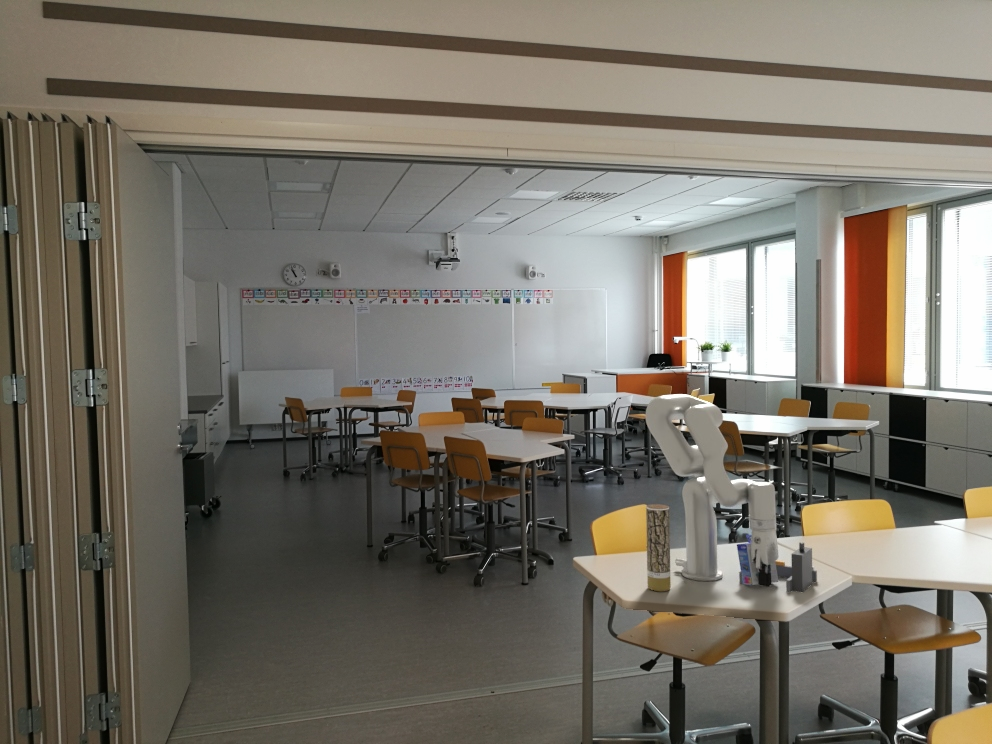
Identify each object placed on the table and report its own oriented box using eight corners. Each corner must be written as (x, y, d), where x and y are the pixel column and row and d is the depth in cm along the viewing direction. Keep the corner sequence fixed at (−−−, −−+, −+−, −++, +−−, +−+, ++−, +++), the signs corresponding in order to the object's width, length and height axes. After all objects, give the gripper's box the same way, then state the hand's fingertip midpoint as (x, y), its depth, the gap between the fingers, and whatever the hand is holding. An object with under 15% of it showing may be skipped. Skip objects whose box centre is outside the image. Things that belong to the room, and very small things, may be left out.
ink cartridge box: (767, 581, 221) (761, 533, 224) (779, 582, 216) (773, 533, 219) (740, 584, 218) (734, 536, 221) (752, 585, 213) (746, 536, 216)
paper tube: (666, 593, 211) (664, 509, 211) (644, 590, 215) (642, 507, 214) (673, 587, 217) (672, 505, 217) (652, 584, 220) (650, 503, 220)
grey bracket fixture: (739, 583, 219) (738, 539, 219) (756, 571, 231) (755, 530, 231) (802, 594, 208) (801, 548, 207) (817, 581, 219) (816, 538, 219)
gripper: (766, 530, 204) (769, 594, 204) (784, 520, 216) (786, 581, 216) (740, 527, 209) (743, 589, 209) (759, 518, 221) (761, 577, 220)
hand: (765, 585), depth 212 cm, fingers closed
